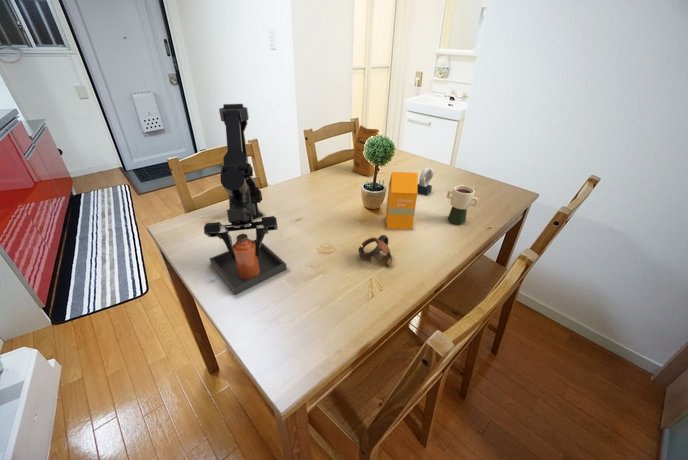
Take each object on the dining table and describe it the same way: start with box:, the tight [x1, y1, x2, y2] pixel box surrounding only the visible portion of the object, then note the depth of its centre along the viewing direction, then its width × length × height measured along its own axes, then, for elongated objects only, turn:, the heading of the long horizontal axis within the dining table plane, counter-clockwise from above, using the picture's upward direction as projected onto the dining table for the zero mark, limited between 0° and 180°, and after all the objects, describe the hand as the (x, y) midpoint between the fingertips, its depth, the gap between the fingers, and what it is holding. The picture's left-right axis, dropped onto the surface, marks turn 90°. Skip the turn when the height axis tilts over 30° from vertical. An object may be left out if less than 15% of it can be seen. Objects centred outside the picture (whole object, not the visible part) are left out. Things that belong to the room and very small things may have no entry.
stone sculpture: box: [417, 167, 435, 196], centre depth 130 cm, size 6×8×11 cm
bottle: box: [232, 233, 260, 280], centre depth 83 cm, size 6×6×12 cm
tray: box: [209, 239, 288, 296], centre depth 88 cm, size 17×16×3 cm
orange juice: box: [385, 171, 419, 230], centre depth 105 cm, size 8×9×20 cm
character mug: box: [446, 184, 479, 225], centre depth 109 cm, size 11×7×13 cm, turn 52°
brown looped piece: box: [357, 234, 393, 268], centre depth 92 cm, size 12×10×8 cm
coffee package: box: [352, 124, 380, 177], centre depth 146 cm, size 10×12×22 cm
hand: (245, 257), depth 82 cm, fingers closed on bottle, 6 cm apart
